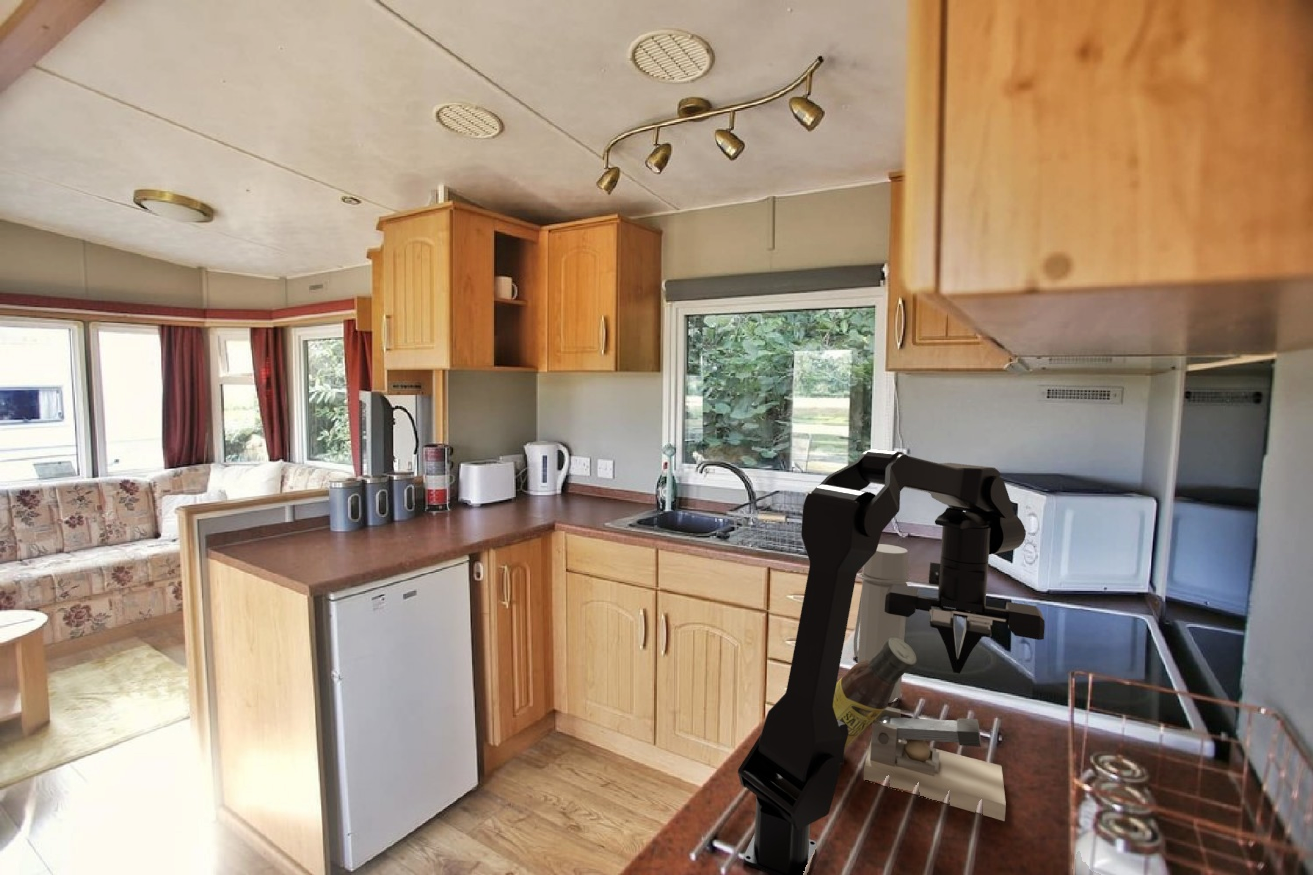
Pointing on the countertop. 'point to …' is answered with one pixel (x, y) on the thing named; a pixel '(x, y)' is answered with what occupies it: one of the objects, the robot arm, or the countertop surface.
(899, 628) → the water bottle
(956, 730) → the nutcracker lever
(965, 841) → the countertop surface
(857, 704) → the sauce bottle
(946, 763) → the nutcracker base
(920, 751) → the walnut
